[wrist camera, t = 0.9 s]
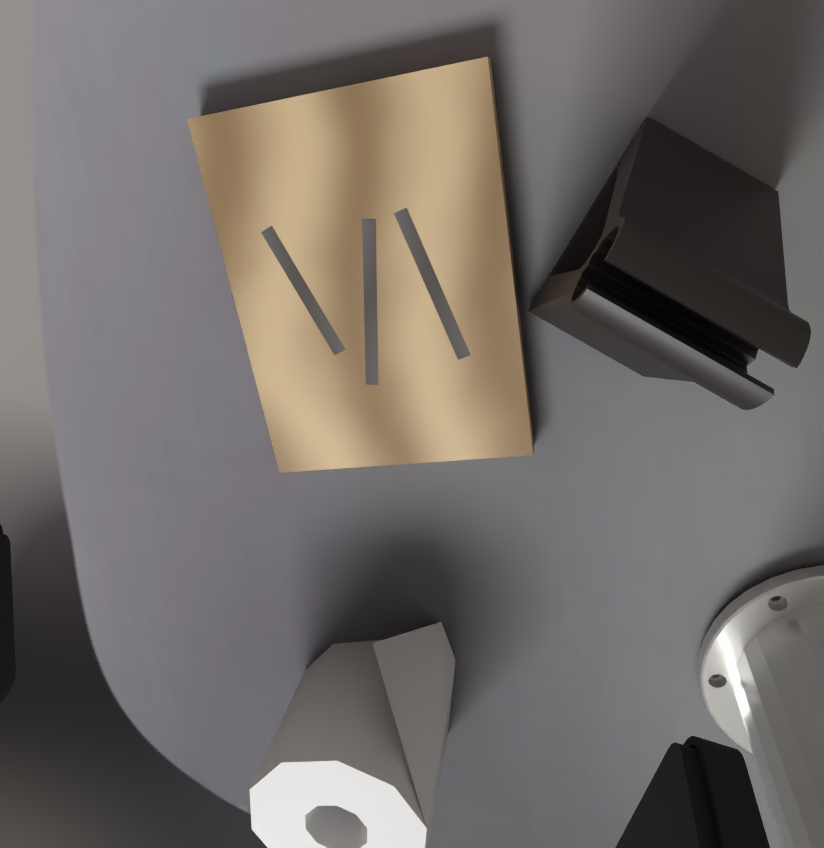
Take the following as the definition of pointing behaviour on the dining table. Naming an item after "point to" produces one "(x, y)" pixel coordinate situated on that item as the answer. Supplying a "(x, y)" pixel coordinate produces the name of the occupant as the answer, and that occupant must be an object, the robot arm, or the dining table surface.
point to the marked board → (374, 269)
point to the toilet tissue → (360, 747)
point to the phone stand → (679, 271)
